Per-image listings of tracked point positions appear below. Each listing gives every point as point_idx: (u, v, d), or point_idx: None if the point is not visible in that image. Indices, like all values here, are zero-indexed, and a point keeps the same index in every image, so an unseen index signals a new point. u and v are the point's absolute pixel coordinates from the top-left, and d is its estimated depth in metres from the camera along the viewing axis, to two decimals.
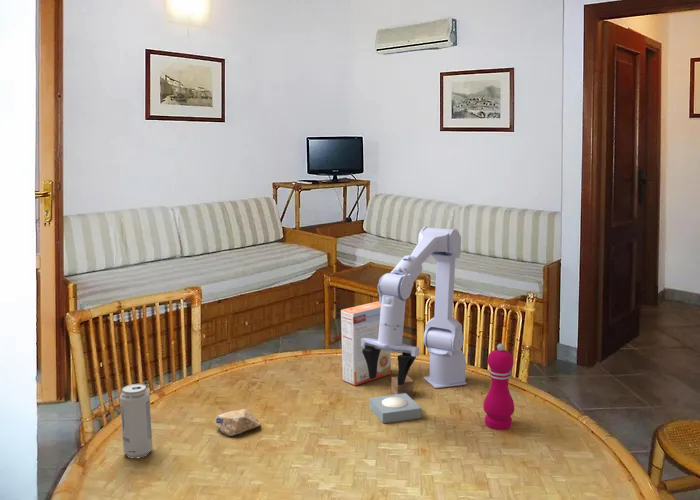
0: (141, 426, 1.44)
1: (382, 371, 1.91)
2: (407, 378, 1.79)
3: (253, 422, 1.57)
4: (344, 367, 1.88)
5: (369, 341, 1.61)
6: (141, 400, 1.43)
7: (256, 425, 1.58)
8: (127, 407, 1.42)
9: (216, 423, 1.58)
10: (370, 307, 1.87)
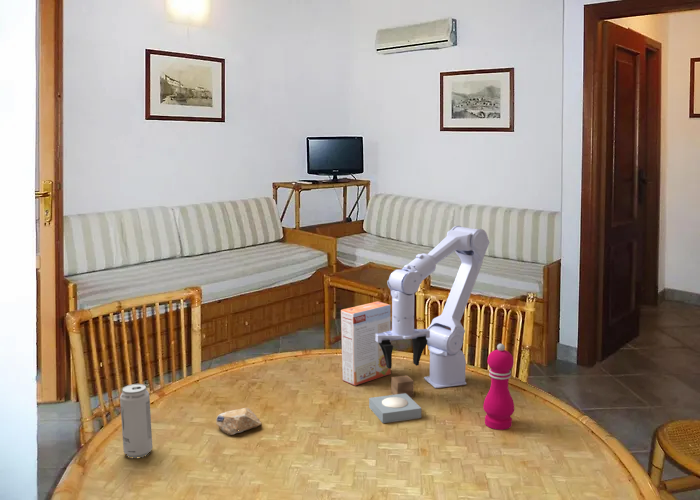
0: (141, 426, 1.44)
1: (382, 371, 1.91)
2: (407, 378, 1.79)
3: (254, 421, 1.58)
4: (344, 367, 1.88)
5: (388, 336, 1.73)
6: (141, 400, 1.43)
7: (257, 424, 1.58)
8: (127, 407, 1.42)
9: (217, 422, 1.58)
10: (370, 307, 1.87)
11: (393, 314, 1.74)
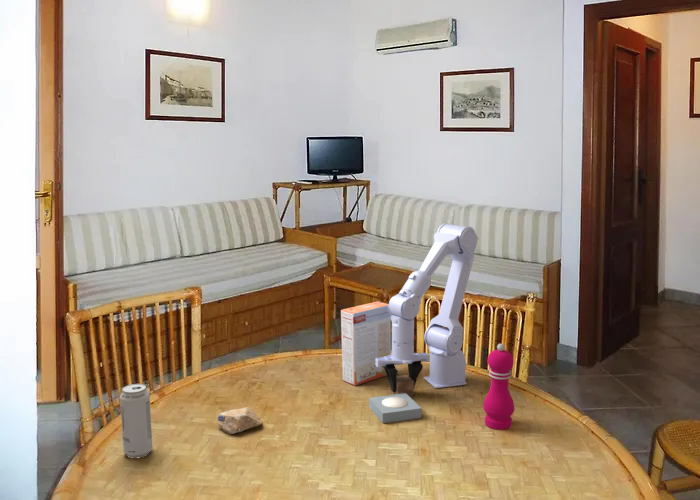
0: (141, 426, 1.44)
1: (382, 371, 1.91)
2: (407, 378, 1.79)
3: (254, 420, 1.58)
4: (344, 367, 1.88)
5: (388, 361, 1.74)
6: (141, 400, 1.43)
7: (257, 423, 1.58)
8: (127, 407, 1.42)
9: (218, 421, 1.59)
10: (370, 307, 1.87)
11: (393, 339, 1.75)
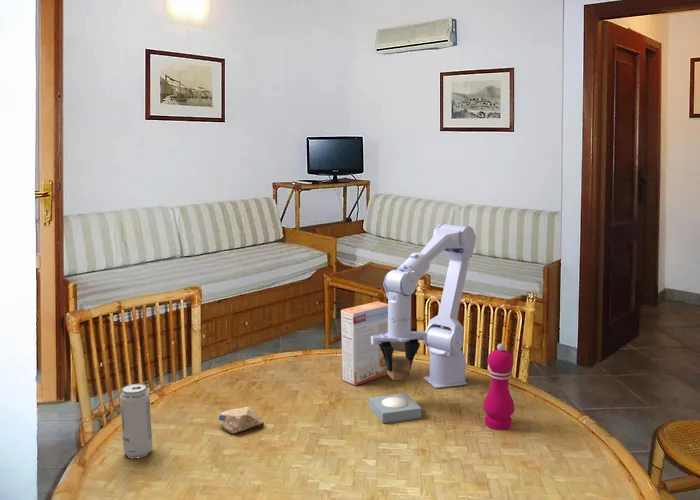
0: (141, 426, 1.44)
1: (383, 371, 1.91)
2: (403, 358, 1.72)
3: (255, 420, 1.58)
4: (344, 367, 1.88)
5: (383, 338, 1.68)
6: (141, 400, 1.43)
7: (258, 423, 1.59)
8: (127, 407, 1.42)
9: (219, 420, 1.59)
10: (370, 307, 1.87)
11: (390, 316, 1.68)
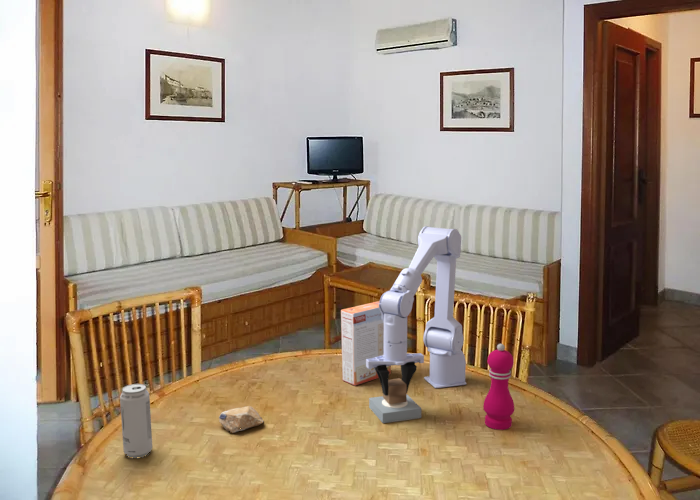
0: (141, 426, 1.44)
1: None
2: (400, 381, 1.67)
3: (256, 419, 1.59)
4: (344, 367, 1.88)
5: (379, 362, 1.63)
6: (141, 400, 1.43)
7: (259, 422, 1.59)
8: (127, 407, 1.42)
9: (220, 420, 1.60)
10: (370, 307, 1.87)
11: (387, 339, 1.63)
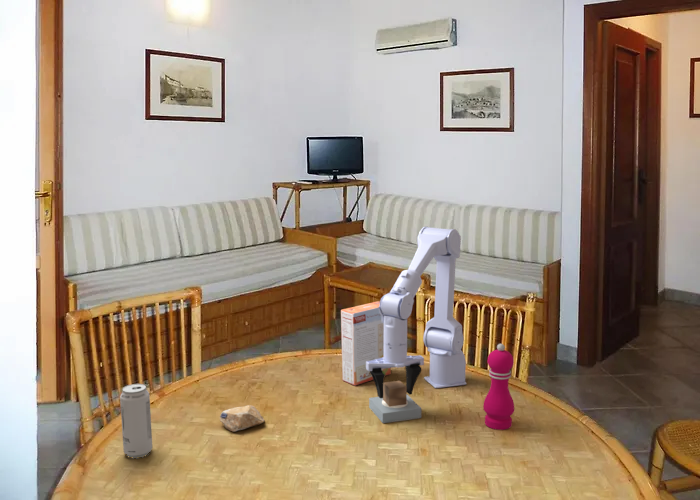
0: (141, 426, 1.44)
1: (382, 371, 1.91)
2: (400, 384, 1.67)
3: (257, 418, 1.59)
4: (344, 367, 1.88)
5: (379, 364, 1.63)
6: (141, 400, 1.43)
7: (260, 422, 1.59)
8: (127, 407, 1.42)
9: (221, 418, 1.60)
10: (370, 307, 1.87)
11: (387, 341, 1.63)
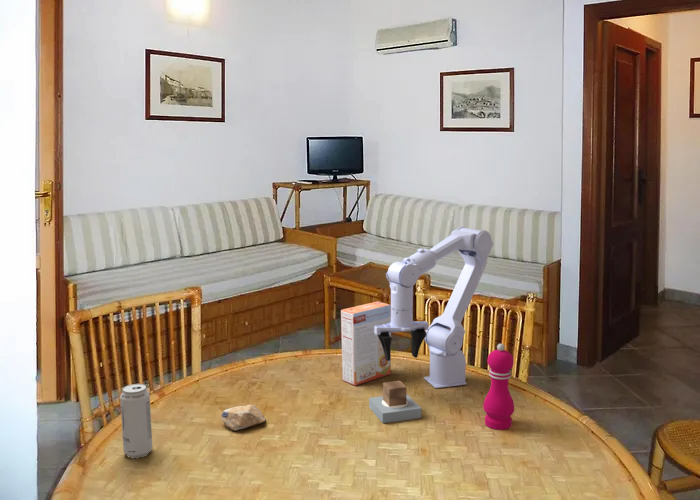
0: (141, 426, 1.44)
1: (382, 371, 1.91)
2: (400, 384, 1.67)
3: (258, 418, 1.60)
4: (344, 367, 1.88)
5: (386, 328, 1.74)
6: (141, 400, 1.43)
7: (260, 421, 1.60)
8: (127, 407, 1.42)
9: (222, 417, 1.61)
10: (370, 307, 1.87)
11: (391, 306, 1.75)
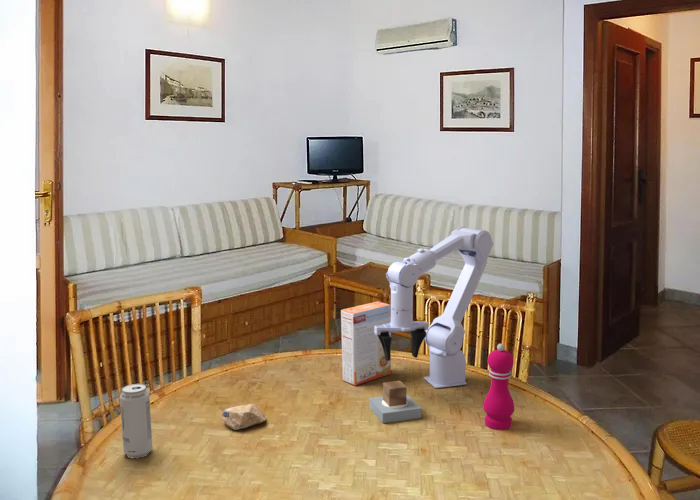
0: (141, 426, 1.44)
1: (382, 371, 1.91)
2: (400, 384, 1.67)
3: (258, 417, 1.60)
4: (344, 367, 1.88)
5: (386, 328, 1.74)
6: (141, 400, 1.43)
7: (261, 420, 1.60)
8: (127, 407, 1.42)
9: (223, 417, 1.61)
10: (370, 307, 1.87)
11: (391, 306, 1.75)
